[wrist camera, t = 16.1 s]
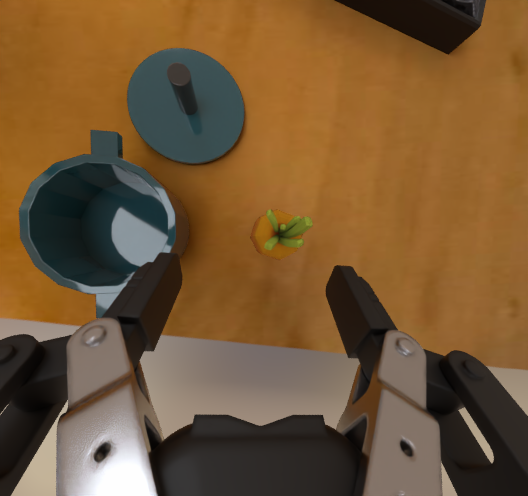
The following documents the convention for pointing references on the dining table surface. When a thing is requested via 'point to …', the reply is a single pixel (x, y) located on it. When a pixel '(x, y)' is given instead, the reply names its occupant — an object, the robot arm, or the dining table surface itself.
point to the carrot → (279, 233)
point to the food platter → (426, 18)
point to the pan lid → (185, 106)
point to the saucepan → (99, 220)
